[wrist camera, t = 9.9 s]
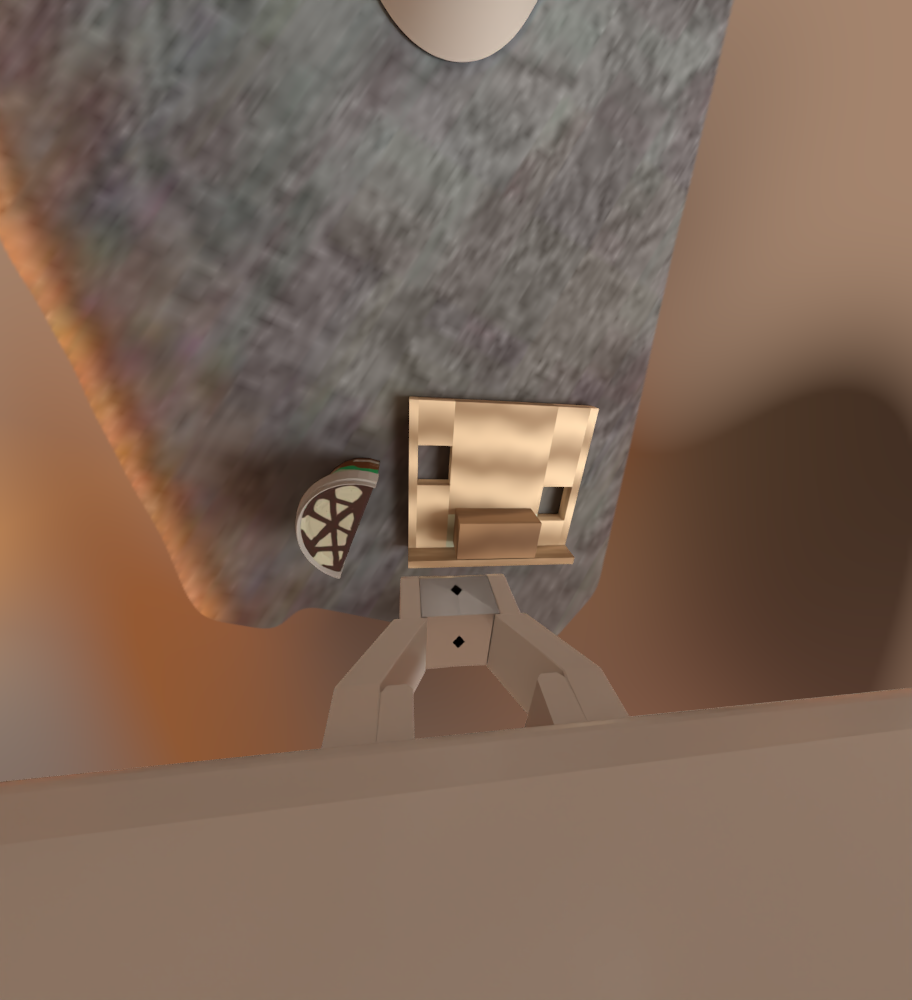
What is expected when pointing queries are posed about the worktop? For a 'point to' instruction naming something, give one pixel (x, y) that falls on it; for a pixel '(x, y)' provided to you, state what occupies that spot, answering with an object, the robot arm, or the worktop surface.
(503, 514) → the block
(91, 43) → the worktop surface
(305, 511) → the food container
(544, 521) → the wooden frame
